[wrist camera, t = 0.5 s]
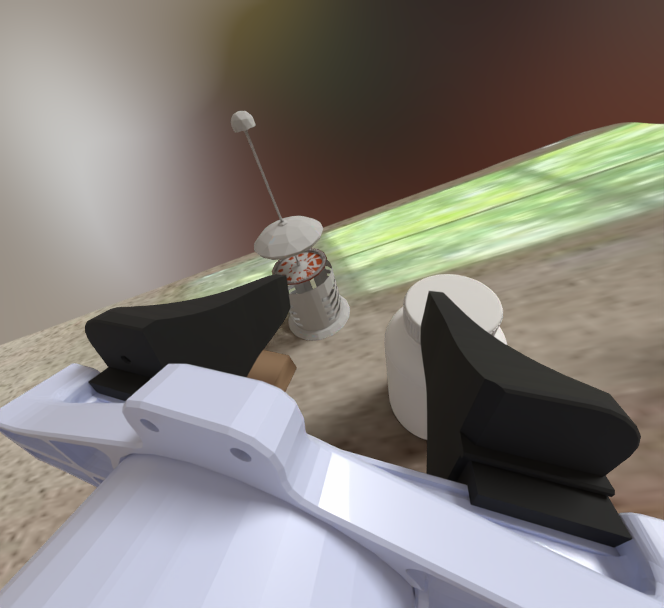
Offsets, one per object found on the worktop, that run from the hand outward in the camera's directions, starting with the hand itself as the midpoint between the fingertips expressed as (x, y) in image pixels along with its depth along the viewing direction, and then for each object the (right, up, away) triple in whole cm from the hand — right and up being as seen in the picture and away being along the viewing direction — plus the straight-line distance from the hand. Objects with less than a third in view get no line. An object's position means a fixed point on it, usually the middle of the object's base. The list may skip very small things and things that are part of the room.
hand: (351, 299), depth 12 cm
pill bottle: (+9, -10, +12) cm, 19 cm away
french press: (-3, -1, +25) cm, 25 cm away
